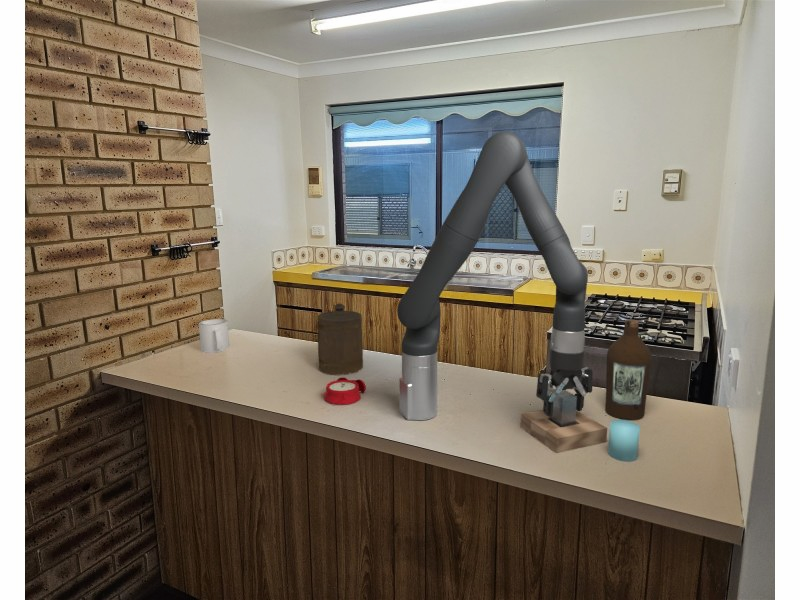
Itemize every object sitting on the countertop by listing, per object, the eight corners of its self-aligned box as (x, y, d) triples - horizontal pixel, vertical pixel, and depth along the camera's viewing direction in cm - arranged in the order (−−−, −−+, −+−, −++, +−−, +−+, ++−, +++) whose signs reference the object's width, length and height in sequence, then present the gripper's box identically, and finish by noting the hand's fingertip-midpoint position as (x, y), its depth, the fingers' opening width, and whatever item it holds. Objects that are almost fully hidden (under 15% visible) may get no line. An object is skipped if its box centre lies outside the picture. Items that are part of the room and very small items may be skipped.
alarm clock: (315, 392, 141) (339, 364, 154) (318, 410, 144) (341, 382, 157) (349, 397, 138) (370, 368, 151) (351, 416, 140) (372, 386, 153)
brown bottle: (602, 402, 141) (609, 314, 136) (645, 407, 137) (653, 317, 132) (602, 417, 132) (609, 323, 126) (648, 424, 128) (657, 327, 123)
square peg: (560, 438, 120) (562, 398, 118) (549, 431, 124) (551, 392, 122) (574, 435, 121) (576, 396, 119) (563, 428, 125) (565, 390, 123)
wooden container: (363, 360, 180) (362, 299, 175) (362, 374, 165) (360, 308, 161) (321, 361, 179) (319, 299, 175) (316, 375, 165) (313, 309, 160)
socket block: (556, 453, 114) (557, 438, 113) (520, 427, 127) (521, 414, 126) (606, 441, 119) (607, 427, 118) (566, 418, 132) (567, 405, 131)
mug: (235, 352, 190) (233, 324, 188) (207, 357, 185) (205, 328, 183) (224, 343, 201) (222, 317, 199) (197, 348, 195) (195, 321, 193)
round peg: (622, 463, 109) (624, 433, 108) (601, 451, 115) (604, 422, 113) (643, 458, 111) (646, 428, 110) (622, 446, 117) (625, 417, 115)
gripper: (551, 355, 112) (548, 423, 116) (603, 348, 117) (598, 414, 121) (531, 346, 119) (528, 411, 123) (581, 339, 124) (577, 402, 128)
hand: (563, 412), depth 122 cm, fingers open, 8 cm apart
